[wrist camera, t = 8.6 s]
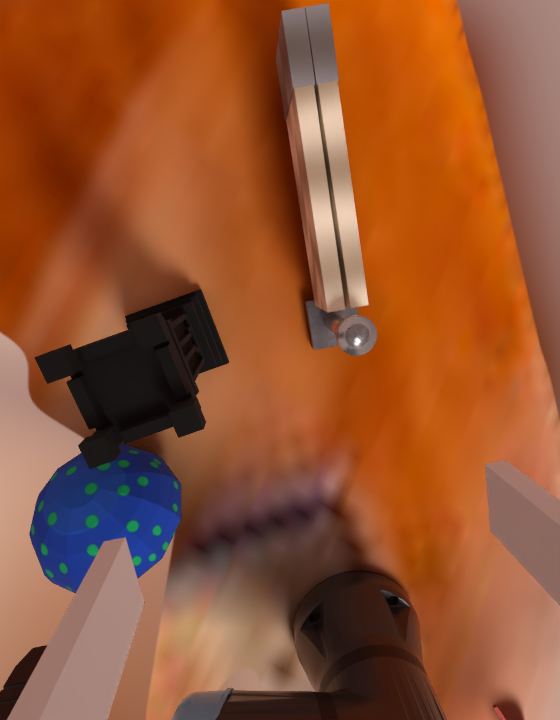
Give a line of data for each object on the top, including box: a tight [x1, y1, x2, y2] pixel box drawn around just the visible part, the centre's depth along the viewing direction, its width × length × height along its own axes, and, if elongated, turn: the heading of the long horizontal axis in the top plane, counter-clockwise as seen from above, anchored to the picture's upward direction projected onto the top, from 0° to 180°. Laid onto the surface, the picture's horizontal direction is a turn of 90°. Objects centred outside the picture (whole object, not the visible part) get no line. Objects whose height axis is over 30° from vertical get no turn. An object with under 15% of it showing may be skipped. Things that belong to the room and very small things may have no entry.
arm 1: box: [305, 3, 368, 308], centre depth 36 cm, size 22×2×7 cm, turn 11°
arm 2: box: [276, 7, 345, 313], centre depth 36 cm, size 22×2×7 cm, turn 10°
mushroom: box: [30, 444, 181, 593], centre depth 42 cm, size 14×14×15 cm
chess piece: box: [35, 289, 229, 469], centre depth 34 cm, size 8×8×20 cm
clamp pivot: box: [304, 299, 377, 355], centre depth 39 cm, size 5×5×11 cm
